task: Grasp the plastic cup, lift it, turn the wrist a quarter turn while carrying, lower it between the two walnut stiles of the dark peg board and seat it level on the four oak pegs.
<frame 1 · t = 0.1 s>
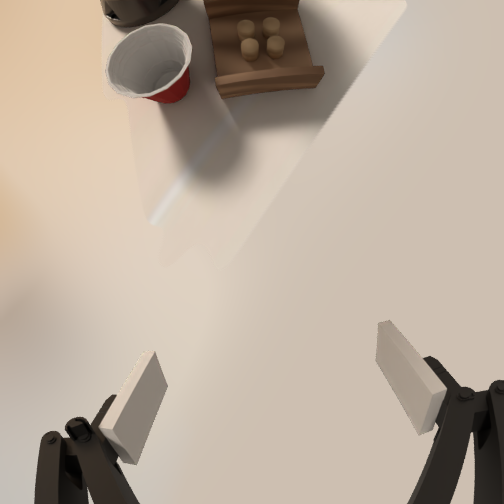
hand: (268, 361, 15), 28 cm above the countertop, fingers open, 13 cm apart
plastic cup: (173, 86, 37), on the countertop
peg board: (260, 47, 35), on the countertop
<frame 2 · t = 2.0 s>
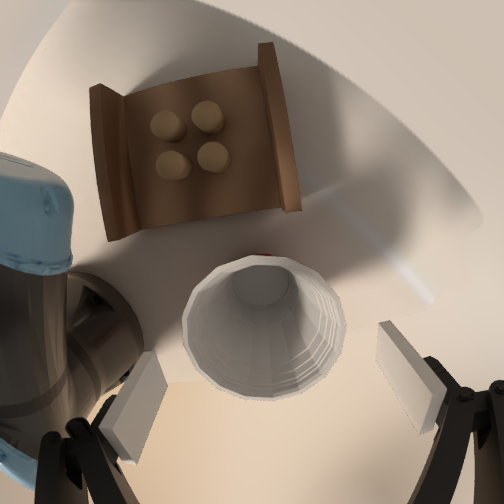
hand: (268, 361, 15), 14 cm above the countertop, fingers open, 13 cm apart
plastic cup: (260, 278, 29), on the countertop
peg board: (198, 146, 26), on the countertop
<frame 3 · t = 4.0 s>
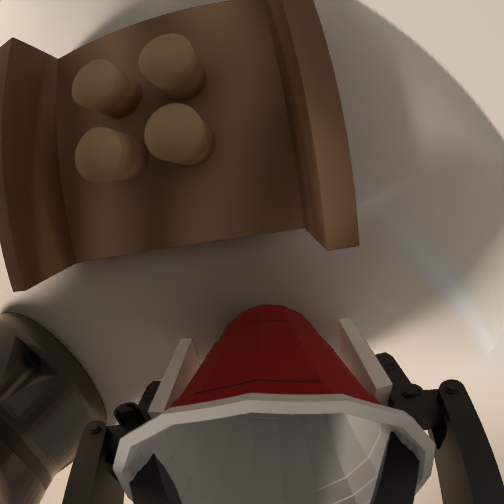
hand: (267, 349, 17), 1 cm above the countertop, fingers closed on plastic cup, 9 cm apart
plastic cup: (266, 339, 18), on the countertop, touching gripper
peg board: (162, 122, 14), on the countertop
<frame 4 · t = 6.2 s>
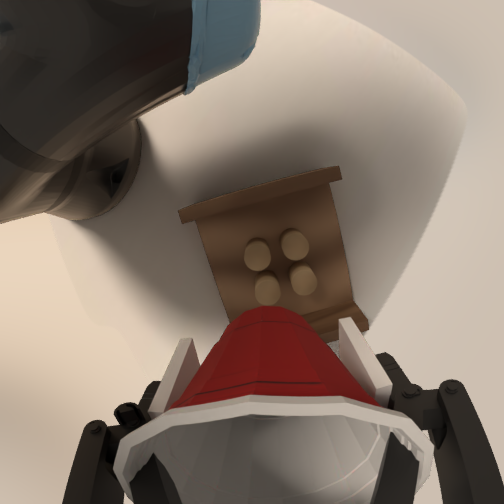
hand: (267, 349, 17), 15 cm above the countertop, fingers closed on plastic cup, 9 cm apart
plastic cup: (266, 340, 18), point 14 cm above the countertop, touching gripper
peg board: (277, 257, 31), on the countertop
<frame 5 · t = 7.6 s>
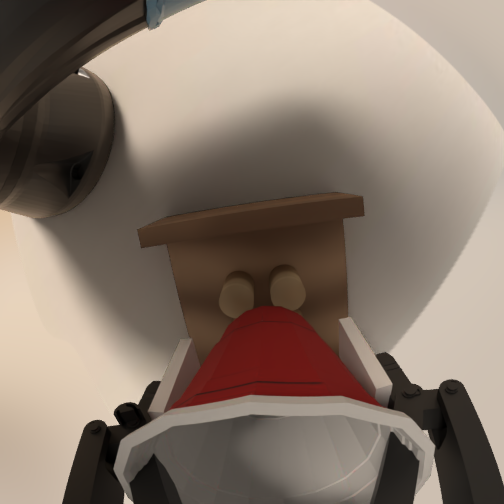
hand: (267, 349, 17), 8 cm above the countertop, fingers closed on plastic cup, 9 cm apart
plastic cup: (266, 340, 18), point 7 cm above the countertop, touching gripper
peg board: (264, 296, 24), on the countertop
when the fingers open (7 cm above the countertop, at t = 8.7 s): plastic cup drops 1 cm, resting on peg board.
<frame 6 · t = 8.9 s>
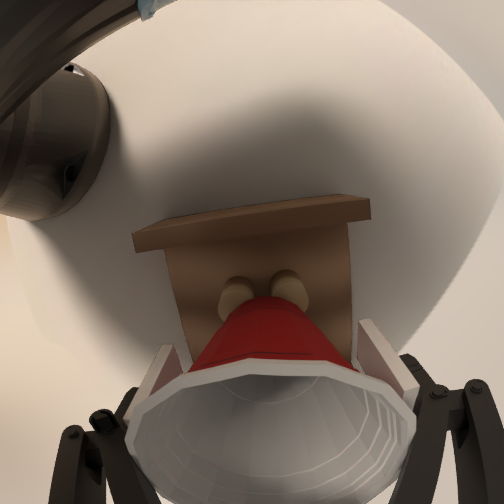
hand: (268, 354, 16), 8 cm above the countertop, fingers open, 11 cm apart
plastic cup: (265, 329, 19), point 4 cm above the countertop, touching peg board
peg board: (265, 302, 23), on the countertop
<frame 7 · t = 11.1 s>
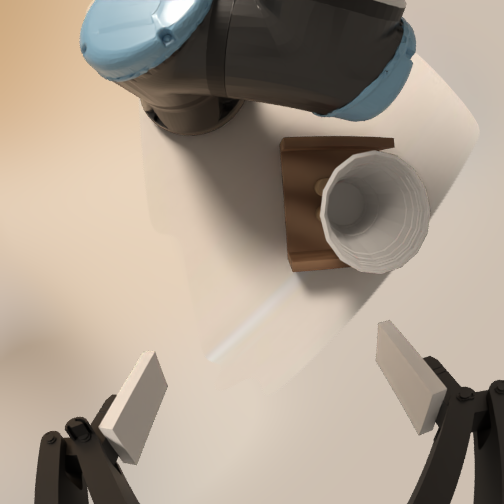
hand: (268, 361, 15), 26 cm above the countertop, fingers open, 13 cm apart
plastic cup: (342, 201, 34), point 4 cm above the countertop, touching peg board
peg board: (333, 199, 38), on the countertop
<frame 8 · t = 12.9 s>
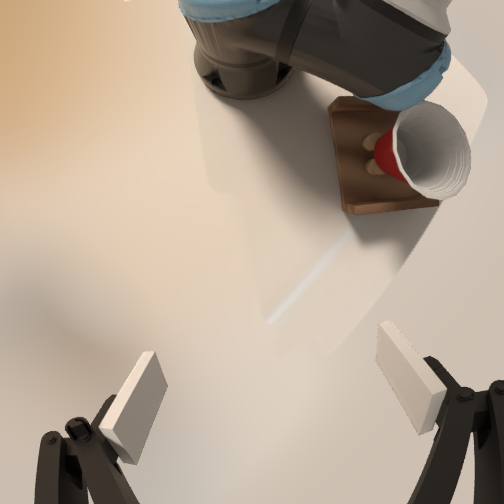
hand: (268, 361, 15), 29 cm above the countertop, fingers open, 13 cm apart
plastic cup: (389, 153, 35), point 5 cm above the countertop, touching arm, peg board
peg board: (377, 155, 39), on the countertop
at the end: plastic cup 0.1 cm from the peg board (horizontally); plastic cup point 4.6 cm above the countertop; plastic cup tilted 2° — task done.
